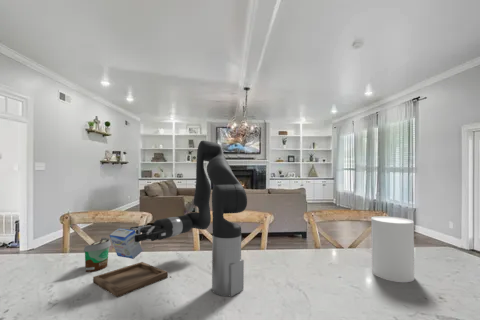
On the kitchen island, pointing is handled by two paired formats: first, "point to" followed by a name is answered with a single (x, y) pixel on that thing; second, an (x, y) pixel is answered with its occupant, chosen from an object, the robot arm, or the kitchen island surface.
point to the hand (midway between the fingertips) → (128, 236)
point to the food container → (97, 255)
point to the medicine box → (125, 243)
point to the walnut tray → (129, 278)
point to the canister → (393, 248)
